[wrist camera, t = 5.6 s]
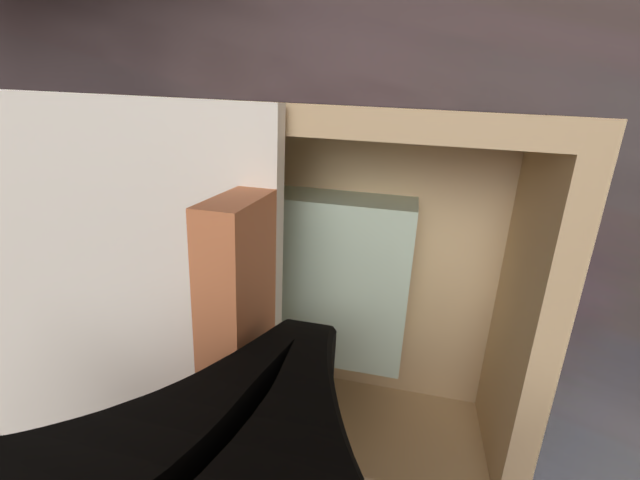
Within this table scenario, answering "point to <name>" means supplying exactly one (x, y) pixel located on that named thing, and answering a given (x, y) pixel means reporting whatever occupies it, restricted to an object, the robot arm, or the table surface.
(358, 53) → the table surface
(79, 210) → the lid
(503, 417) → the mailer box
